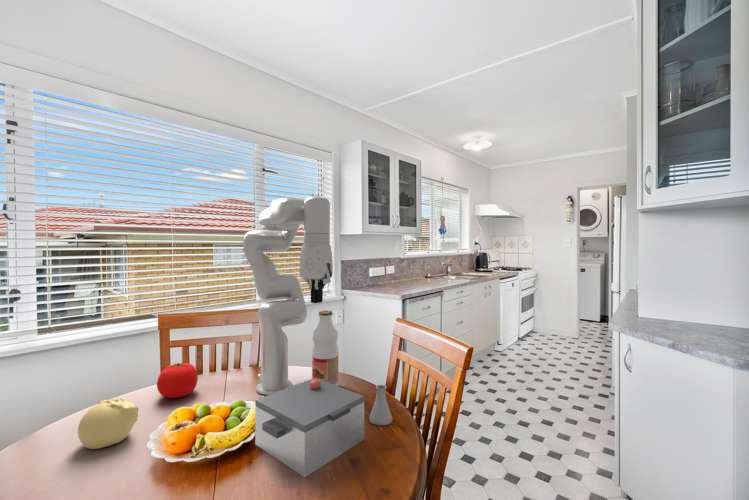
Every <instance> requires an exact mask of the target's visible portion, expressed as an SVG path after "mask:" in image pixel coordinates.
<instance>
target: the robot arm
mask: <svg viewBox="0 0 749 500" xmlns="http://www.w3.org/2000/svg"><path fill="white" fill-rule="evenodd" d="M330 217H331V203H330V200H329V199H328V198H326V197H321V196H319V197H318V196H317V197H316V196H313V197H307V198H306V199H301V198H300V199H299V198H286V197H285V198H284V197H283V198H278V199H276V200H273V201H272V202H271V204H270V207H267V208H265V209H264V210H262V211H261V212H260V214H259V218H258V221H259V224H260V226H261V227H262V228H263V229H255V230H250V231H248V232H246V233H245V234H244V237H243V239H242V241H243V242H242V247H243V251H244V256H245V258H246V260H247V262H248V264H249V265H250V268H251V270H252V275H253V279H254V285H255V287H256V288H255V289H256V292H257V295H258V297H259V298H260V300H262V301H267V302H264V303H262V304H261V305H260V306H259V307H258V311H257V316H258V317H257V319H258V323H259V331H260V373H259V374H257V378H258V379H260V380H259V383H258V384H256V387H255V391H256V392H257V393H258V394H260V395H263V396H264V395H265V396H267V395H270V394H273V393H275V392H278V391H281V390H283V389H286V388H289V387H291V386H293V382H292V381H291V380H289V339H288V336H287V334H286V333H285V332H284V331H283V330H282V328H283V327H290V326H296V325H300V324H303V323H304V322H305V321H306V320H307V317H308V310H307V305H306V301H305V298H304V295H303V291H302V288H301V287H302V286H301V283H300V281H299V279H298V278H297V277H296V276H295V275H294V274H289V273H287V274H286V273H285V274H282V273H281V274H280V273H278V272H277V268H276V265H275V263H274V261H273V260H272V259H271V257H269V256H268V255H266V254H265V253H285V252H287V251H288V250H289V249H290V248H291V246H292V244H293V241H294V239H295V237H296V235H297V233H298V231H299V227H300V225H303V244H302V246H301V251H300V257H299V259H300V260H299V276H300V278H302V279H303V281H304V282H306V283H307V284H308V288H309V289H310V303H311V304H318V303H319V304H321V303H323V299H324V298H323V296H324V292H323V290H324V289H325V286H326V285H327V284H331V282H332V281H331V279H332V277H333V271H334V269H333V268H334V263H333V253H332V252H333V251H332V247H331V243H330V240H331V239H330V238H331V223H330V222H331V218H330Z"/></svg>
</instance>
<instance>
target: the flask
mask: <svg viewBox="0 0 749 500" xmlns="http://www.w3.org/2000/svg"><path fill="white" fill-rule="evenodd" d="M375 389H376V395H375V400H374V403H373V406H372V409H371V411H370V414H369V418H368V419H369V423H370V424H372V425H376V426H388V425H390V424H391V423H392V422H394V419H393V416H392V413H391V410H390V406H389V404H388V401H387V395H386V390H387V385H385V384H377V385H376V386H375Z"/></svg>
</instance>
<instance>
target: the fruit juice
mask: <svg viewBox="0 0 749 500" xmlns="http://www.w3.org/2000/svg"><path fill="white" fill-rule="evenodd" d="M318 317H319V321H318V324H317V326H316V328H315V329H314V331H313V333H312V341H313V347H312V352H311V353H312V355H311V357H312V359H311V360H312V361H311V363H312V364H311V366H312V367H311V373H312V374H311V379H313V378H317V379H320V380H322V381H325V382H328V383H330V384H333V385H336V386H338V387H339V347H338V344H337V343H338V339H339V332H338V330H337V329H336V327H334V324H333V320H332V317H333V311H332V310H327V309H326V310H324V309H323V310H320V311H318Z"/></svg>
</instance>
